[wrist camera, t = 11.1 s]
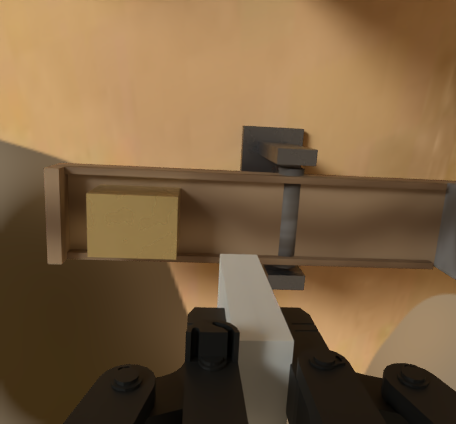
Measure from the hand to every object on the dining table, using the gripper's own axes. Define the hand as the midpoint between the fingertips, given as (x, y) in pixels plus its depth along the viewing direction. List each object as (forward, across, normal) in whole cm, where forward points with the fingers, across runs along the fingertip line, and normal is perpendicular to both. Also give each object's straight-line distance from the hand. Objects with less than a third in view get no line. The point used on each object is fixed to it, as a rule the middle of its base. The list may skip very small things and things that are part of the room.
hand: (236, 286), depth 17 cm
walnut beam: (+16, +6, -1) cm, 17 cm away
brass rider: (+16, -6, -1) cm, 17 cm away
